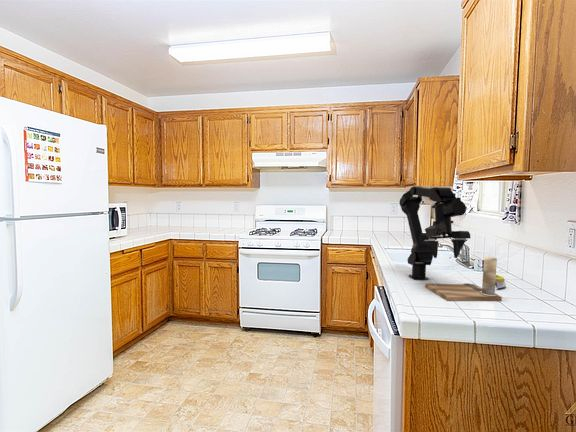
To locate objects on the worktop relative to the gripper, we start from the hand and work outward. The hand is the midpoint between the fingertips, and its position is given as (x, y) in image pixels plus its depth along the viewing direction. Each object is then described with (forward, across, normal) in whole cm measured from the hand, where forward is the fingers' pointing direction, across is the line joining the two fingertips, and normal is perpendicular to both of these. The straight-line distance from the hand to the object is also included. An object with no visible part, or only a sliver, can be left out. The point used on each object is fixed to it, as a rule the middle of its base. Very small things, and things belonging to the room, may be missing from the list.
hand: (445, 258), depth 133 cm
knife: (+12, 0, +30) cm, 33 cm away
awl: (+13, +12, +6) cm, 19 cm away
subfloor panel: (+14, +4, +2) cm, 14 cm away
